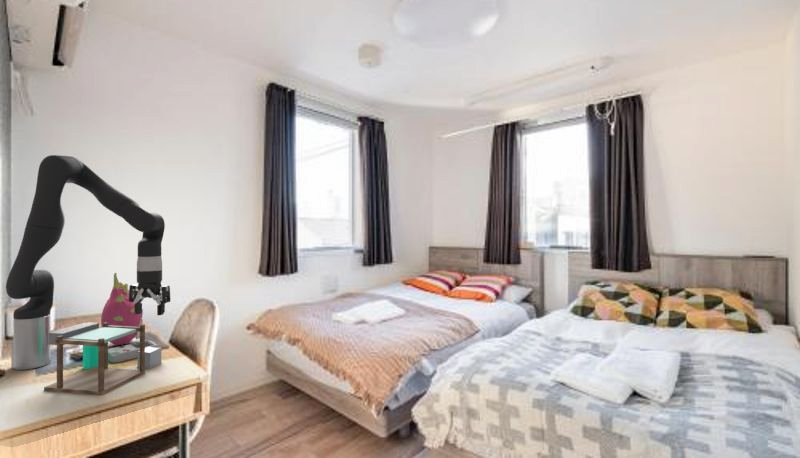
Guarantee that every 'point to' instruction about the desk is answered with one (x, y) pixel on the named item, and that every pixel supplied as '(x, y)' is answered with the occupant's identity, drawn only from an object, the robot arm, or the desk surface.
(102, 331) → the trapdoor
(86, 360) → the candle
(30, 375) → the desk surface
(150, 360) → the grey rectangular block
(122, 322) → the pink dragon fruit
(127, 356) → the handheld gaming device
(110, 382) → the frame
